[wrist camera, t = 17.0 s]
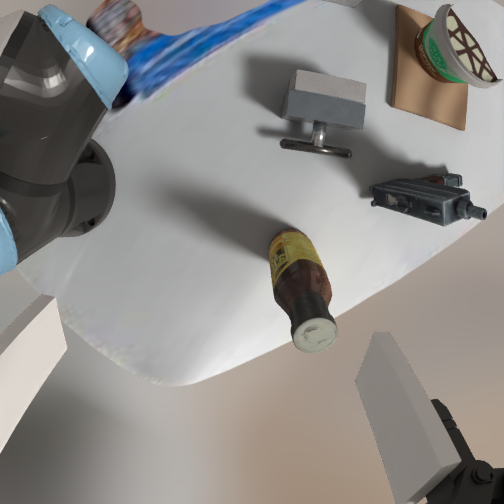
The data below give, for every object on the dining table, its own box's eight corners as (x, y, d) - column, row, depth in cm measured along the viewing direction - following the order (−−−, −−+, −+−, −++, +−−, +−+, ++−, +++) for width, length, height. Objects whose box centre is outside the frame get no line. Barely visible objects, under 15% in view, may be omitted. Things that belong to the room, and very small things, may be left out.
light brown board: (390, 106, 36) (394, 106, 35) (395, 6, 30) (399, 4, 29) (460, 130, 37) (464, 130, 36) (463, 36, 31) (467, 35, 30)
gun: (524, 204, 27) (464, 237, 25) (439, 184, 43) (370, 206, 40) (524, 184, 26) (464, 210, 24) (437, 168, 42) (367, 187, 39)
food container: (390, 36, 32) (424, 16, 22) (415, 20, 30) (451, 0, 21) (440, 106, 35) (482, 104, 25) (462, 87, 33) (504, 83, 24)
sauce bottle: (269, 226, 43) (283, 297, 24) (314, 229, 43) (358, 299, 24) (266, 270, 45) (275, 361, 26) (308, 272, 45) (342, 360, 27)
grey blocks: (277, 147, 39) (282, 149, 32) (296, -32, 29) (304, -56, 22) (344, 157, 39) (362, 162, 33) (359, -19, 29) (375, -38, 23)
